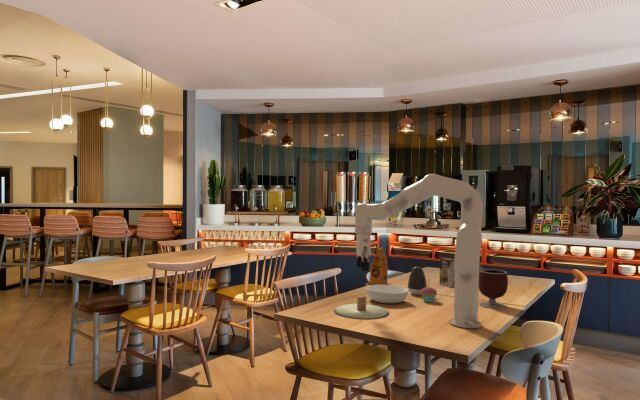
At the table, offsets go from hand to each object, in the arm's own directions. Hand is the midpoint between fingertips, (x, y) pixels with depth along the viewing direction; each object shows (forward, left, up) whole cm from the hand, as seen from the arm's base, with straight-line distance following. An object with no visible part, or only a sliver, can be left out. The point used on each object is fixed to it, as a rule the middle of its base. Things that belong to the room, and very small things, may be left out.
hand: (362, 268), depth 208 cm
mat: (0, 0, -20) cm, 20 cm away
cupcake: (+23, -40, -20) cm, 50 cm away
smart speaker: (+40, -40, -20) cm, 60 cm away
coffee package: (+68, -26, -20) cm, 75 cm away
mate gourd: (+12, -68, -20) cm, 72 cm away
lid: (0, 0, -20) cm, 20 cm away
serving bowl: (+22, -18, -21) cm, 35 cm away
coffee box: (+64, -68, -20) cm, 96 cm away
